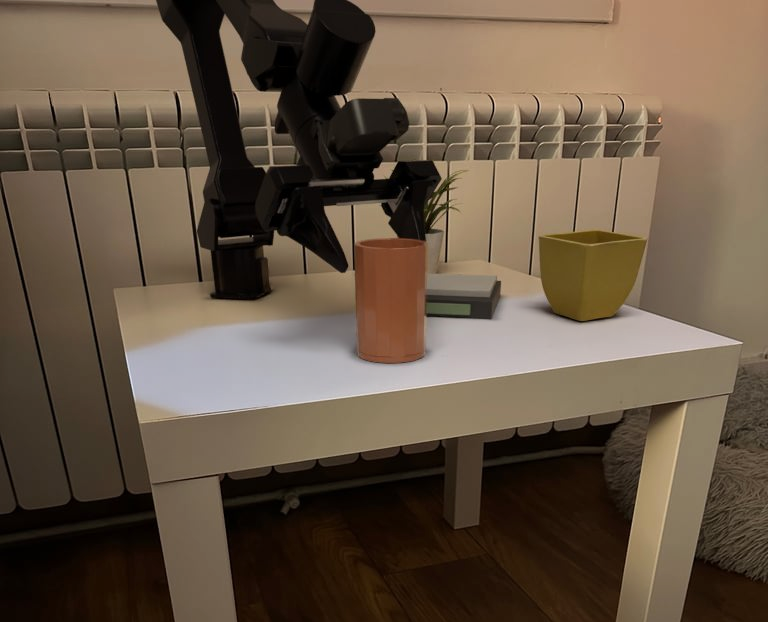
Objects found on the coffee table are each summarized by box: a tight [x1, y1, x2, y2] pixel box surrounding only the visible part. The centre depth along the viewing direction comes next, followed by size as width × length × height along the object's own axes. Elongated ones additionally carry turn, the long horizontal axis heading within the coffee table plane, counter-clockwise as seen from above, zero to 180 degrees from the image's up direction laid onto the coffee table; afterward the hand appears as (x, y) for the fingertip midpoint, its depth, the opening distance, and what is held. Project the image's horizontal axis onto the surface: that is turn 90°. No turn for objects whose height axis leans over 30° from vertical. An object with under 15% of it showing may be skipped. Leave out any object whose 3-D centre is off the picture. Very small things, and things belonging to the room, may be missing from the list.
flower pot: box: [538, 229, 648, 322], centre depth 84 cm, size 9×9×9 cm
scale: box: [426, 273, 502, 320], centre depth 91 cm, size 11×13×3 cm
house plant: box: [379, 156, 470, 274], centre depth 106 cm, size 14×14×16 cm
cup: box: [353, 237, 428, 364], centre depth 70 cm, size 7×7×10 cm
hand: (386, 264), depth 70 cm, fingers open, 9 cm apart
